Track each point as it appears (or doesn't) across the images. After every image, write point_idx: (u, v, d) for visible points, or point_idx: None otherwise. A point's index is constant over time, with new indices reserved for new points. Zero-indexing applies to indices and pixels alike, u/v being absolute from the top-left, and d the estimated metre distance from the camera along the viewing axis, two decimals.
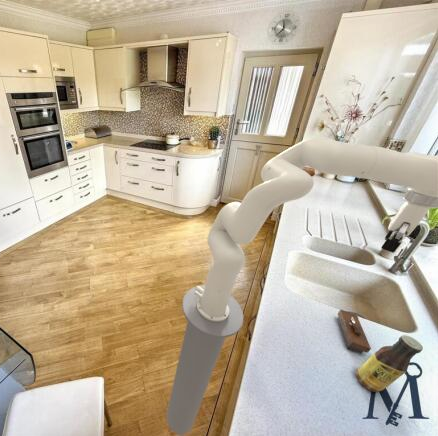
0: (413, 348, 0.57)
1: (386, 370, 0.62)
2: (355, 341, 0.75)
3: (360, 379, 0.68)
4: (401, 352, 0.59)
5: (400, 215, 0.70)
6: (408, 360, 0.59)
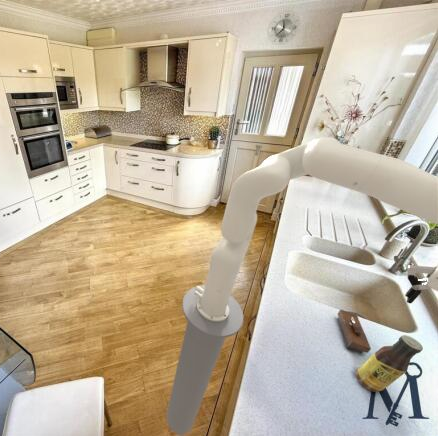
0: (413, 348, 0.57)
1: (386, 370, 0.62)
2: (355, 341, 0.75)
3: (360, 379, 0.68)
4: (401, 352, 0.59)
5: None
6: (408, 360, 0.59)
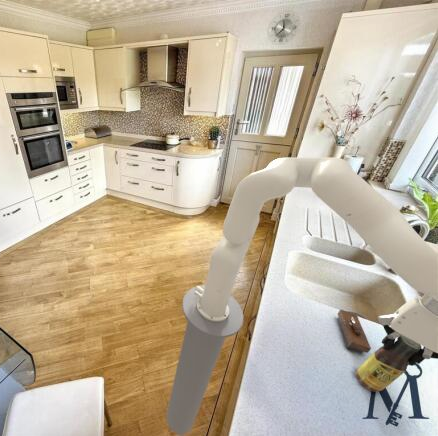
0: (411, 347, 0.57)
1: (385, 369, 0.62)
2: (355, 341, 0.75)
3: (360, 379, 0.68)
4: (400, 351, 0.59)
5: None
6: (407, 359, 0.59)
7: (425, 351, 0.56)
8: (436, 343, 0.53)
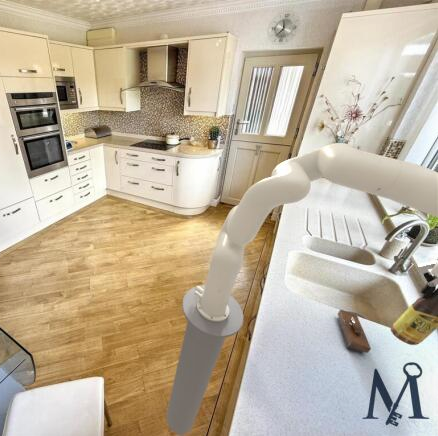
0: None
1: (425, 319, 0.61)
2: (355, 341, 0.75)
3: (396, 333, 0.67)
4: None
5: None
6: None
7: None
8: None
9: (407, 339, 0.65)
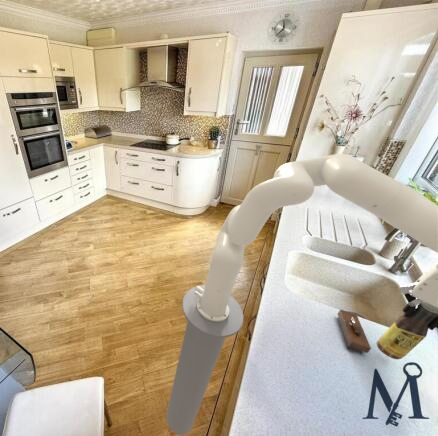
0: (431, 313, 0.62)
1: (406, 336, 0.66)
2: (355, 341, 0.75)
3: (381, 348, 0.72)
4: (421, 317, 0.64)
5: None
6: (427, 325, 0.64)
7: None
8: None
9: (391, 354, 0.70)
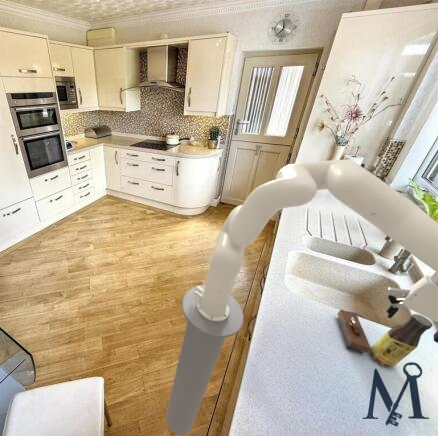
0: (423, 325, 0.64)
1: (398, 346, 0.68)
2: (355, 341, 0.75)
3: (374, 356, 0.74)
4: (413, 329, 0.66)
5: None
6: (419, 336, 0.66)
7: None
8: None
9: (383, 362, 0.72)
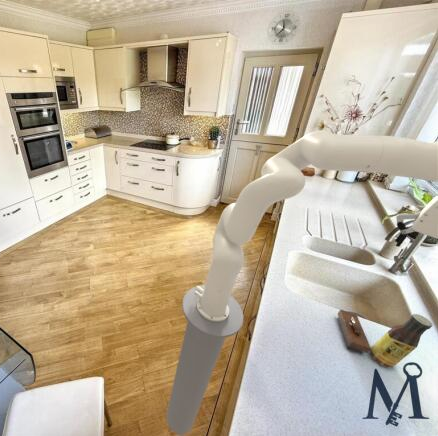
0: (423, 325, 0.64)
1: (398, 346, 0.68)
2: (355, 341, 0.75)
3: (374, 356, 0.74)
4: (413, 329, 0.66)
5: None
6: (419, 336, 0.66)
7: None
8: None
9: (383, 362, 0.72)
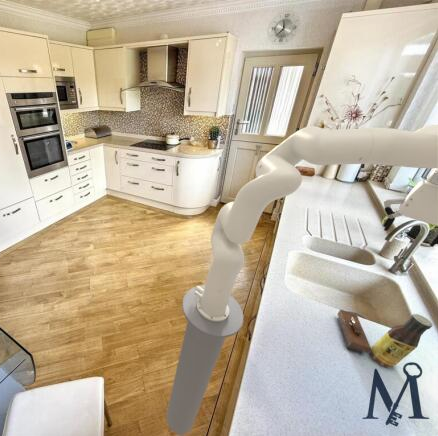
0: (423, 325, 0.64)
1: (398, 346, 0.68)
2: (355, 341, 0.75)
3: (374, 356, 0.74)
4: (413, 329, 0.66)
5: None
6: (419, 336, 0.66)
7: None
8: None
9: (383, 362, 0.72)
